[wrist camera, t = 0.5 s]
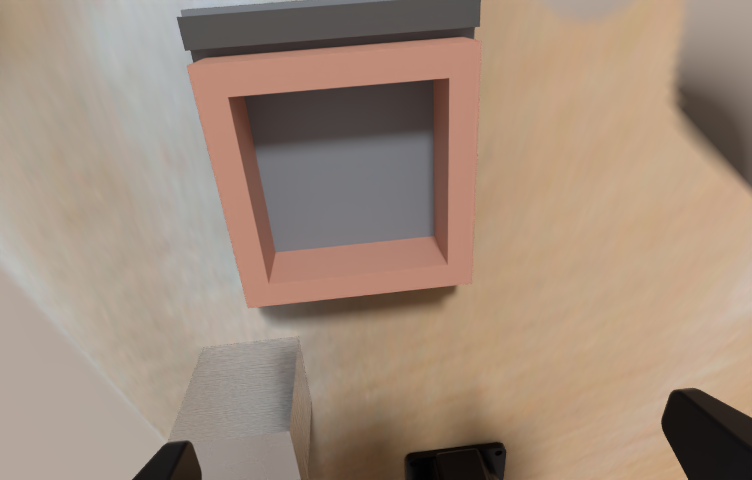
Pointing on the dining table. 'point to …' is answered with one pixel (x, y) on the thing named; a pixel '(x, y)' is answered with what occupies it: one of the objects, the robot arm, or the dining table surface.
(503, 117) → the dining table surface
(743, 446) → the robot arm
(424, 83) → the frame
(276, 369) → the block
